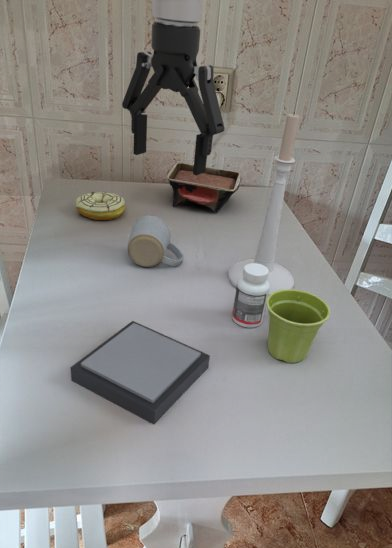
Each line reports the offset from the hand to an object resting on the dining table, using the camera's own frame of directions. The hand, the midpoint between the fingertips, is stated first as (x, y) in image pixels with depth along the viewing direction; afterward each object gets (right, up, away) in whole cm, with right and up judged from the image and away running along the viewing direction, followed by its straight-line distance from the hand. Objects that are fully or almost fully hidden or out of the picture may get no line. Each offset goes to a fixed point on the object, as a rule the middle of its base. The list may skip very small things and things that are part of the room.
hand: (168, 163), depth 88 cm
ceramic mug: (-3, -16, +9) cm, 19 cm away
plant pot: (+19, -34, -11) cm, 41 cm away
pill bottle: (+14, -29, -5) cm, 32 cm away
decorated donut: (-17, -3, +24) cm, 29 cm away
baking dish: (+7, +3, +34) cm, 35 cm away
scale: (-3, -37, -18) cm, 41 cm away
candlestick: (+18, -20, +6) cm, 28 cm away
